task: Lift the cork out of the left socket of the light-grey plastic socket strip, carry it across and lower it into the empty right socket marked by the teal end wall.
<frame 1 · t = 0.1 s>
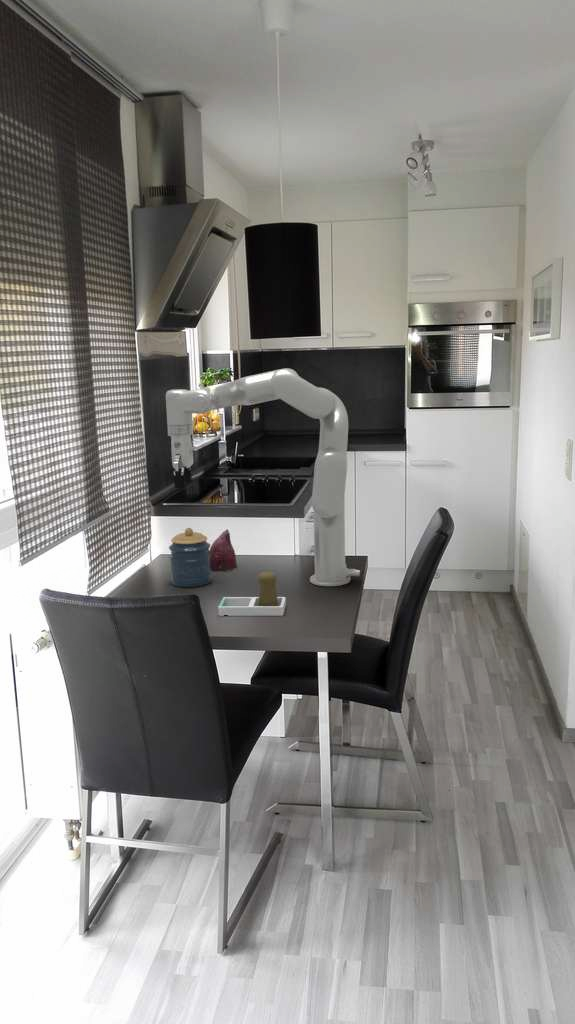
hand: (183, 485, 256), 31 cm above the table, tool pointing down, fingers open, 9 cm apart
socket strip: (252, 610, 233), on the table
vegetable: (222, 568, 278), on the table
cork: (268, 611, 232), resting in socket strip
canister: (191, 582, 262), on the table
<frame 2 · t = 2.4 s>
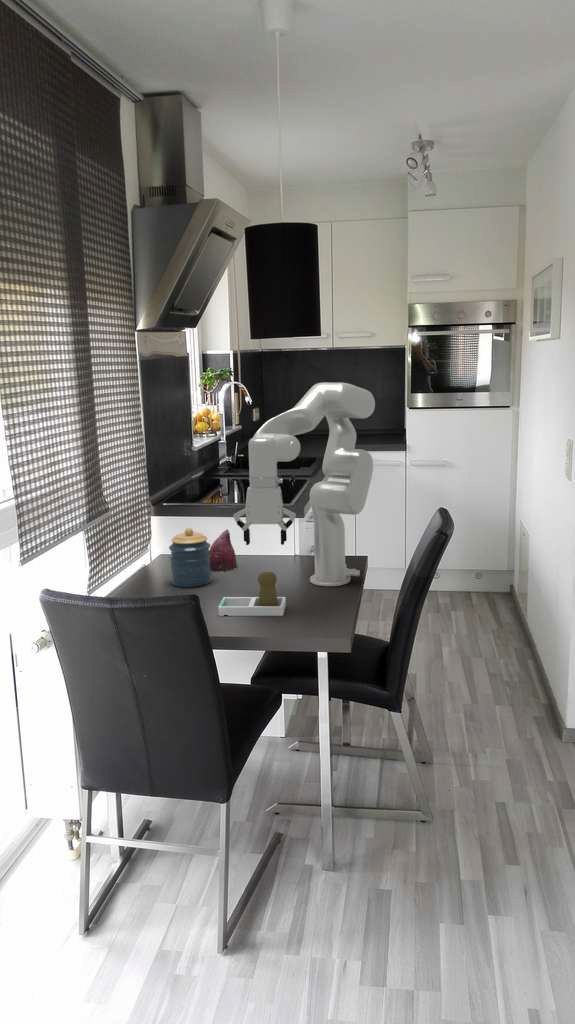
hand: (265, 543, 228), 19 cm above the table, tool pointing down, fingers open, 9 cm apart
nothing on the table moved.
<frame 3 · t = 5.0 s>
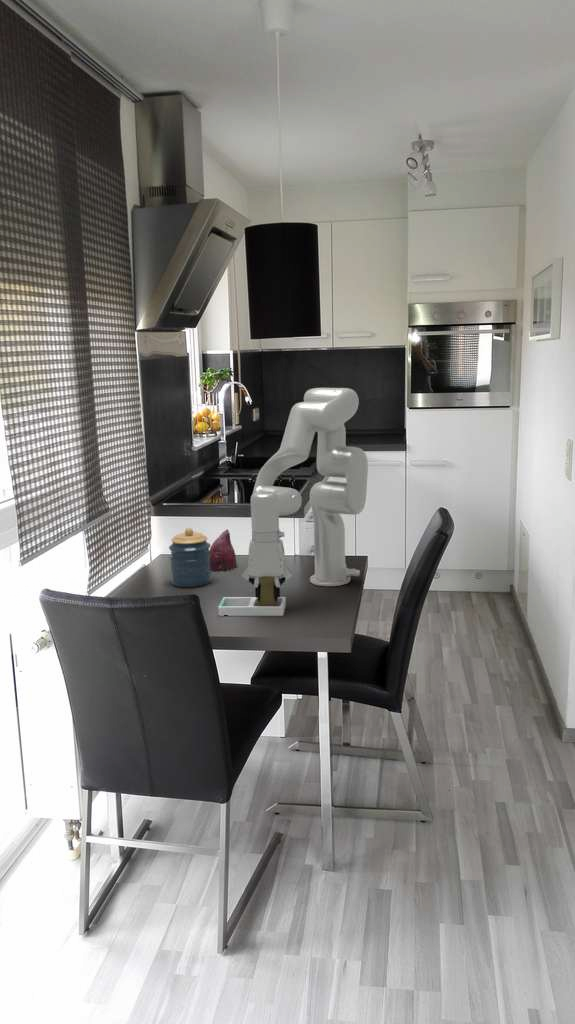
hand: (267, 599, 231), 3 cm above the table, tool pointing down, fingers closed on cork, 4 cm apart
cork: (268, 611, 232), resting in socket strip, touching gripper
everything else where it was.
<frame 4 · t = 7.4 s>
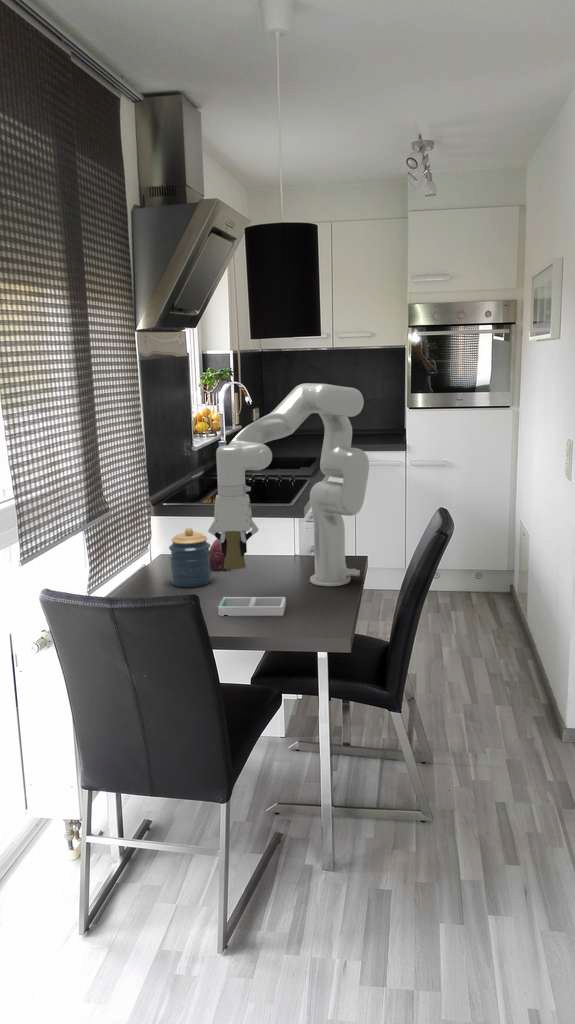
hand: (234, 554, 230), 16 cm above the table, tool pointing down, fingers closed on cork, 4 cm apart
cork: (234, 567, 230), point 13 cm above the table, touching gripper
everything else where it was.
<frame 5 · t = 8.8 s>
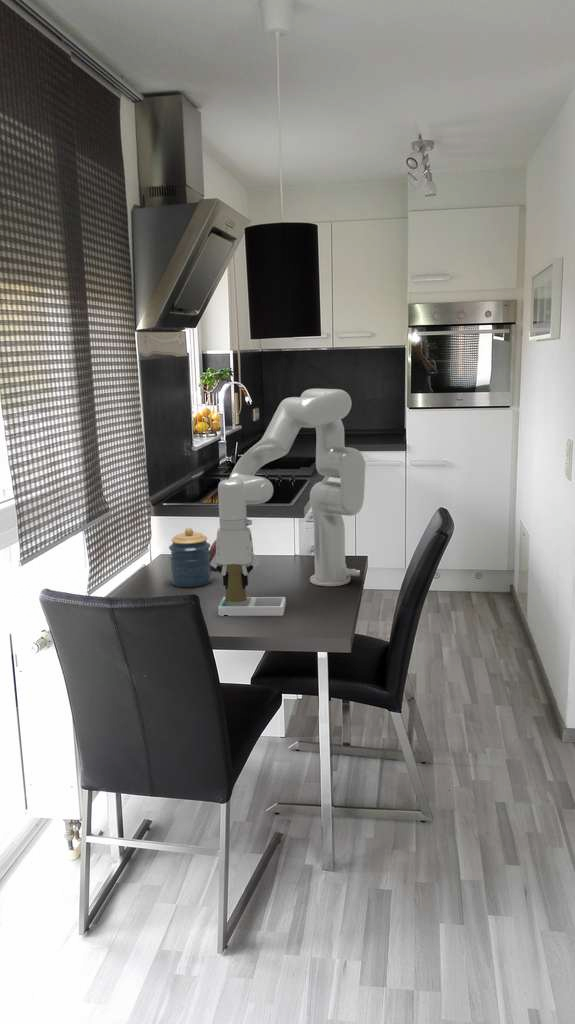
hand: (235, 587, 231), 7 cm above the table, tool pointing down, fingers closed on cork, 4 cm apart
cork: (236, 600, 232), point 3 cm above the table, touching gripper
everything else where it was.
when the fingers open (5 cm above the table, at t = 10.0 s): cork drops 1 cm, resting in socket strip.
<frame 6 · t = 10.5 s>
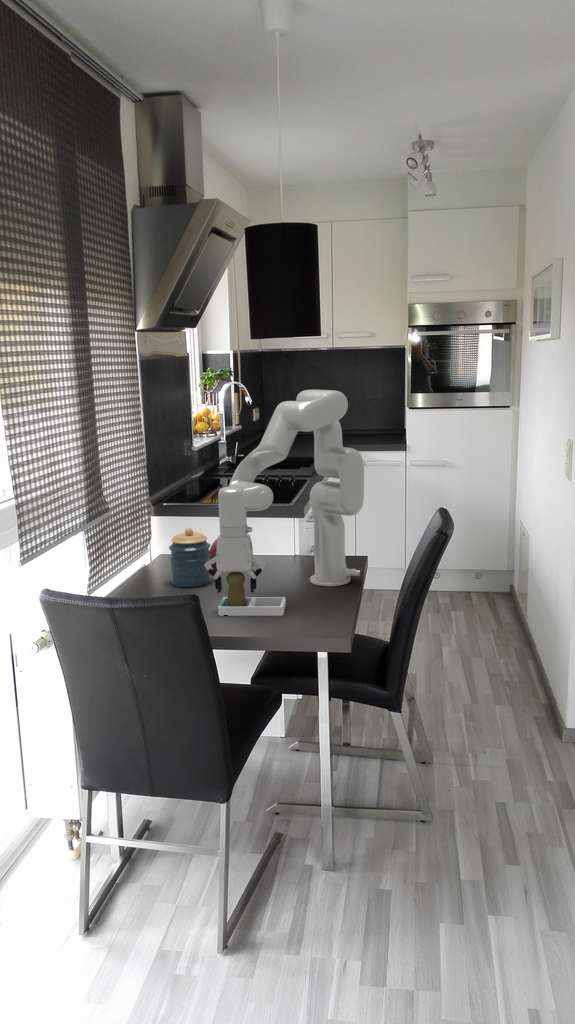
hand: (236, 591, 232), 6 cm above the table, tool pointing down, fingers open, 9 cm apart
cork: (237, 611, 233), resting in socket strip
everything else where it was.
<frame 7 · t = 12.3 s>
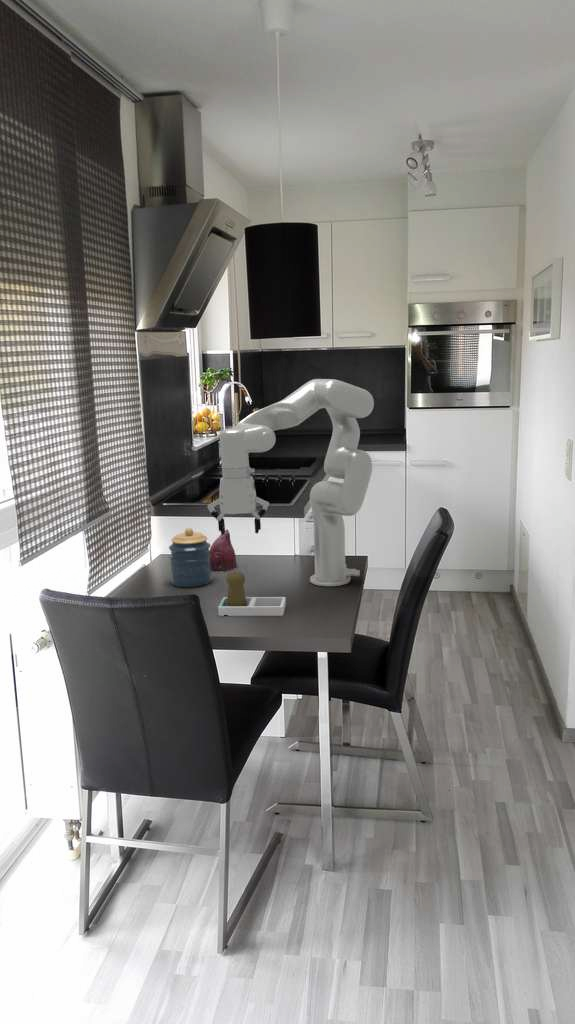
hand: (240, 532, 232), 22 cm above the table, tool pointing down, fingers open, 9 cm apart
nothing on the table moved.
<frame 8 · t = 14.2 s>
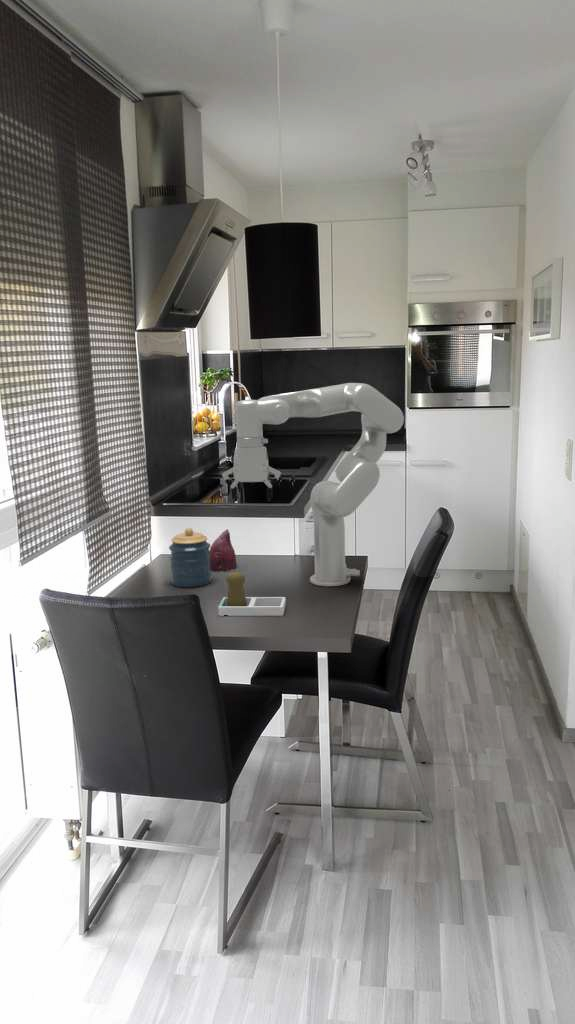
hand: (252, 500, 243), 28 cm above the table, tool pointing down, fingers open, 9 cm apart
nothing on the table moved.
at the end: cork 0.2 cm from the target spot on the socket strip, point 0.0 cm above the socket strip's base; cork tilted 0°; the gripper is holding nothing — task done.
